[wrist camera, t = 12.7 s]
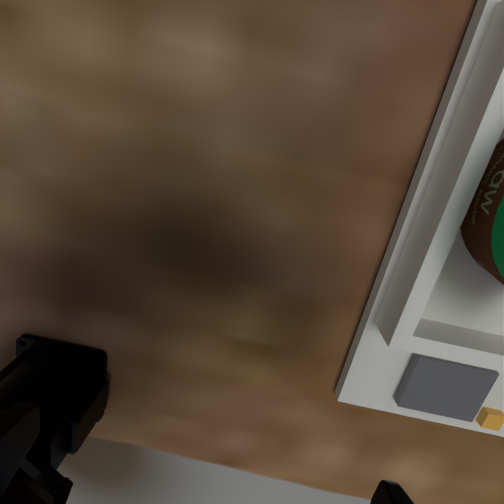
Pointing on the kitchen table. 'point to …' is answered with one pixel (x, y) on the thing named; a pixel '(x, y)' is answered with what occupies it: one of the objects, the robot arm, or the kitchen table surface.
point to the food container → (488, 218)
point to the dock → (441, 265)
